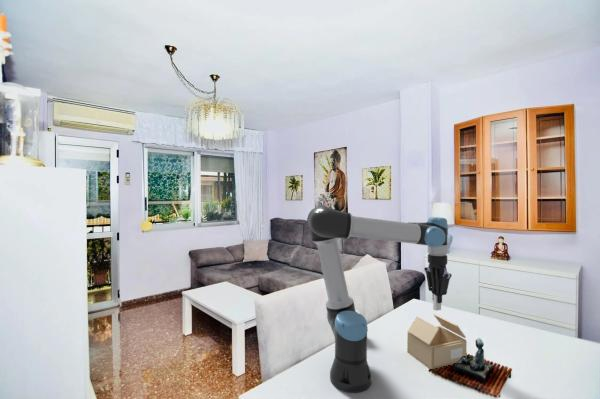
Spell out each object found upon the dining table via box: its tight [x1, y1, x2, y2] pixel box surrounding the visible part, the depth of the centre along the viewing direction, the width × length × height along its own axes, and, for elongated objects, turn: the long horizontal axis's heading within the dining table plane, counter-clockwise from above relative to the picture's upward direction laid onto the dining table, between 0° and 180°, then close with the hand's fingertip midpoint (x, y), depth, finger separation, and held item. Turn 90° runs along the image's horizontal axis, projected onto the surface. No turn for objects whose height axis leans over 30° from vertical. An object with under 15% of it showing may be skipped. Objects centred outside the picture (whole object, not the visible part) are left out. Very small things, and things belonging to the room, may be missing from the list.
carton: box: [406, 325, 468, 370], centre depth 127 cm, size 18×16×9 cm
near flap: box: [407, 316, 439, 345], centre depth 124 cm, size 1×12×8 cm
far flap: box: [433, 313, 467, 339], centre depth 129 cm, size 1×12×8 cm
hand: (437, 309), depth 127 cm, fingers closed
